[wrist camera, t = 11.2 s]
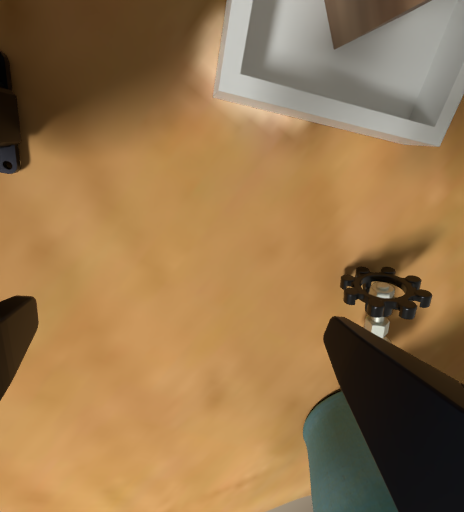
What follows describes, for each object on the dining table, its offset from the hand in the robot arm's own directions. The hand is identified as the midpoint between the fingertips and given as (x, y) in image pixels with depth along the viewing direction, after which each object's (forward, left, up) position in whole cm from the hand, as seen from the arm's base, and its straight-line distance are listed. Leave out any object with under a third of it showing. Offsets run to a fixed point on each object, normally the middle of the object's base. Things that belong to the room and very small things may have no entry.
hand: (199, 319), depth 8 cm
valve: (+18, -9, -13) cm, 24 cm away
